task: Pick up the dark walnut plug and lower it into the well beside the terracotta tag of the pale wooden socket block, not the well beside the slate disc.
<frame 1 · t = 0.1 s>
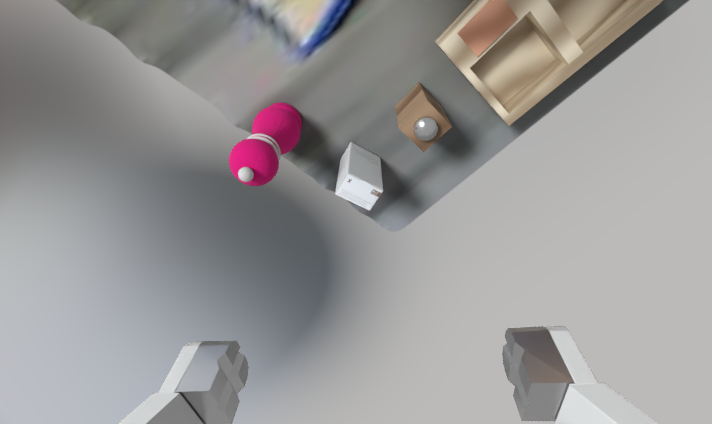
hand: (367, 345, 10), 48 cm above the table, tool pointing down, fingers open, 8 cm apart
tag socket block: (534, 18, 46), on the table
skincare box: (361, 157, 59), on the table
pepper mill: (283, 120, 56), on the table
plug: (417, 105, 53), on the table
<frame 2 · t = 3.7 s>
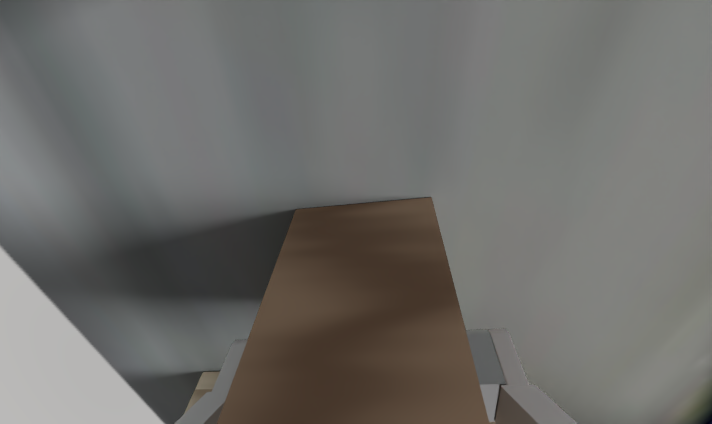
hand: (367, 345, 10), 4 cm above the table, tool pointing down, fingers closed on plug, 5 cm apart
plug: (369, 255, 14), on the table, touching gripper
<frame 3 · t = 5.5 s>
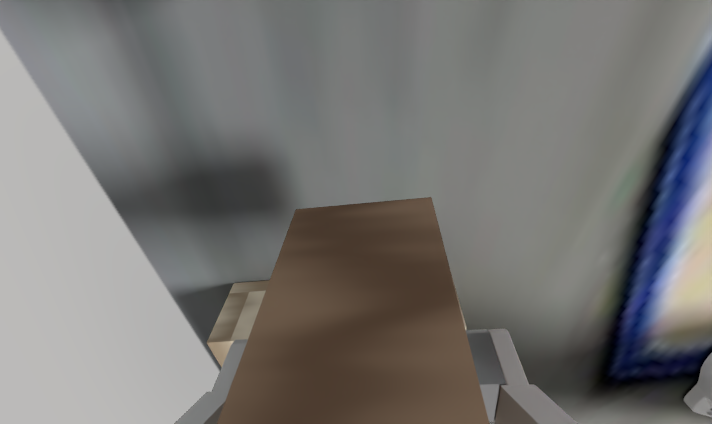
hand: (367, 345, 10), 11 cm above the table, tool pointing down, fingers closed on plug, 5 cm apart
tag socket block: (358, 365, 30), on the table
plug: (369, 255, 14), point 7 cm above the table, touching gripper
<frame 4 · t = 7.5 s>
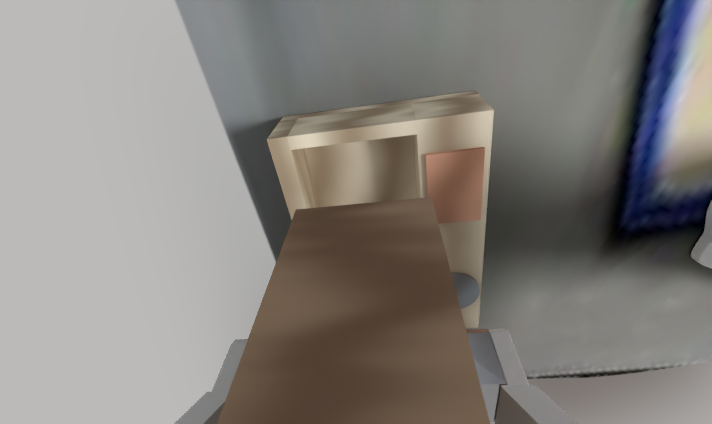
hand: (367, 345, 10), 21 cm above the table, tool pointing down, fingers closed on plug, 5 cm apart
tag socket block: (388, 216, 33), on the table
plug: (369, 255, 14), point 17 cm above the table, touching gripper
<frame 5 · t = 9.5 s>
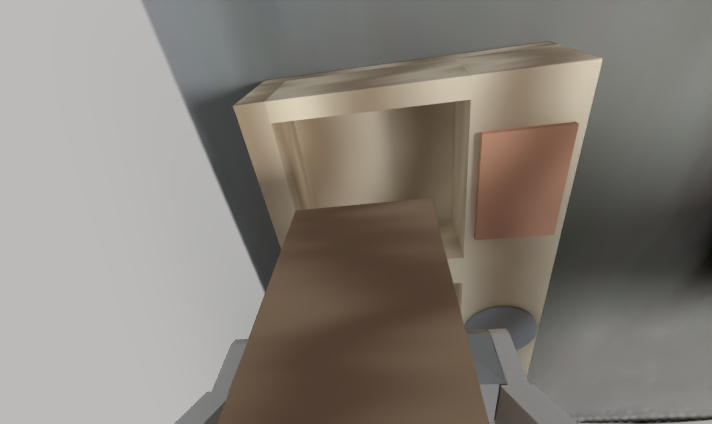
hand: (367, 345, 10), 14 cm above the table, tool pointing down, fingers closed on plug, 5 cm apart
tag socket block: (410, 224, 24), on the table
plug: (369, 256, 14), point 10 cm above the table, touching gripper
when the fingers open (7 cm above the table, at t = 11.1 s): plug drops 2 cm, resting on tag socket block.
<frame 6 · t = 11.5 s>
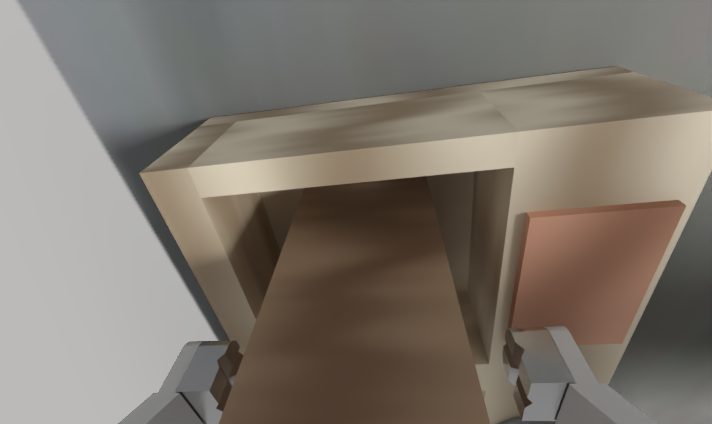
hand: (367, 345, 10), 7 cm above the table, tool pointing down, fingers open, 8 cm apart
tag socket block: (412, 293, 19), on the table
plug: (370, 227, 15), point 1 cm above the table, touching tag socket block
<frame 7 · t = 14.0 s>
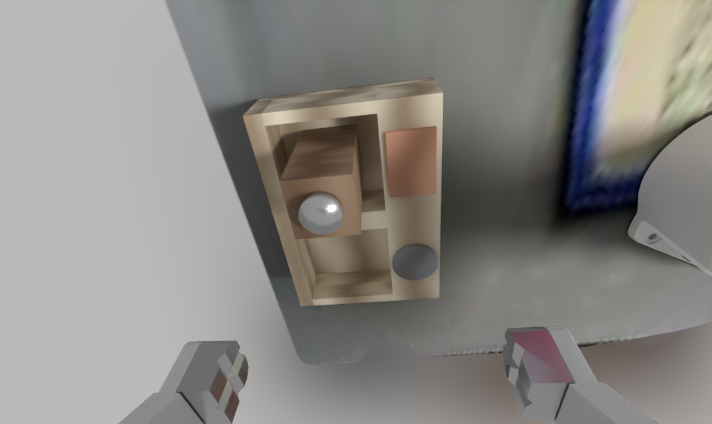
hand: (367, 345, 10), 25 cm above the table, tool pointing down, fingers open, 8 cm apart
tag socket block: (358, 194, 36), on the table
plug: (333, 152, 32), point 1 cm above the table, touching tag socket block
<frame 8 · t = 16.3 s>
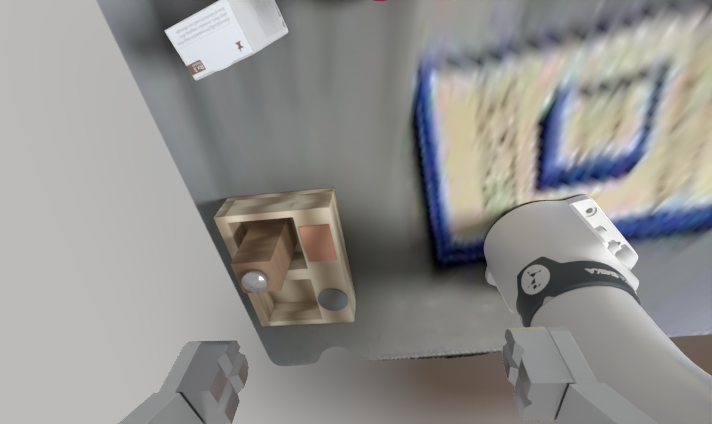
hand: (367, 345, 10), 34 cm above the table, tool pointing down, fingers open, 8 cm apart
tag socket block: (297, 252, 53), on the table
skincare box: (256, 24, 36), on the table
plug: (276, 229, 50), point 1 cm above the table, touching tag socket block
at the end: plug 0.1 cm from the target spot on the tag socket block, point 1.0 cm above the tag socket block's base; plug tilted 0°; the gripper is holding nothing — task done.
